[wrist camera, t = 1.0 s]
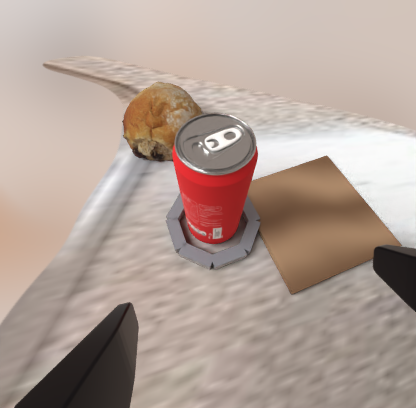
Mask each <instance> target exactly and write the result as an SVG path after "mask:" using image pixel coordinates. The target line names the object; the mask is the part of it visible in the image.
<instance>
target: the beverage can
mask: <svg viewBox="0 0 416 408" xmlns="http://www.w3.org/2000/svg"><path fill="white" fill-rule="evenodd" d="M172 156H173V162H174V166H175V171H176V175H177V179H178V184H179V188H180V193H181V197H182V201H183V206H184V210H185V215H186V219H187V223H188V227H189V230H190V231H191V233H192V234H193V235H194V236H195V237H196V238H197V239H198V240H200V241H202V242H205V243H209V244H218V243H222V242H224V241H226V240H228V239H230V238H231V237H232V236H233V235H234V234H235V232H236V230H237V228H238V225H239V221H240V218H241V215H242V211H243V208H244V204H245V201H246V197H247V194H248V190H249V187H250V183H251V180H252V177H253V173H254V170H255V166H256V163H257V158H258V151H257V146H256V138H255V135H254V133H253V131H252V129H251V128H250V127H249V126H248V125H247V124H246V123H245V122H244V121H242V120H240V119H239V118H237V117H234V116H232V115H228V114H224V113H207V114H202V115H199V116H196V117H194V118H192V119H190V120H188V121H187V122H185V123H184V124H183V125H182V126H181V127H180V129H179V130H178V132H177V134H176V137H175V142H174V146H173V152H172Z"/></svg>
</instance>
